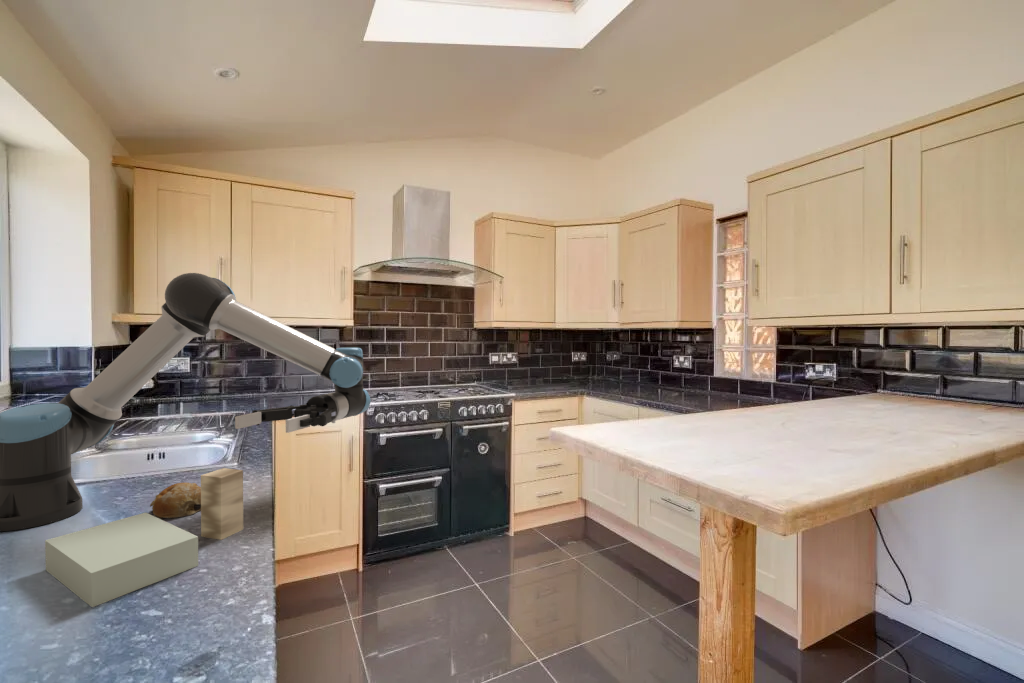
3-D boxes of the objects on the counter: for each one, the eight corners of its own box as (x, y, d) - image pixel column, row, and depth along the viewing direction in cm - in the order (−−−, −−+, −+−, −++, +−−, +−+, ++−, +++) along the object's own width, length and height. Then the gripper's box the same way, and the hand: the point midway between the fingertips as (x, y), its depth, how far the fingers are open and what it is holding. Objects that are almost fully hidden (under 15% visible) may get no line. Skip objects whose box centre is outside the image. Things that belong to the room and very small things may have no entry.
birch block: (201, 536, 90) (200, 475, 90) (223, 526, 95) (223, 468, 94) (221, 539, 89) (221, 477, 88) (243, 529, 93) (242, 470, 93)
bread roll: (170, 538, 97) (184, 505, 97) (134, 513, 99) (147, 481, 98) (210, 519, 107) (222, 489, 106) (176, 497, 109) (188, 468, 108)
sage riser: (45, 570, 77) (45, 540, 77) (145, 538, 89) (145, 512, 89) (91, 607, 67) (91, 573, 67) (198, 565, 79) (198, 536, 79)
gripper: (368, 425, 117) (309, 445, 97) (287, 420, 124) (216, 437, 104) (367, 396, 117) (309, 410, 97) (286, 392, 124) (216, 404, 104)
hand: (261, 424), depth 100 cm, fingers open, 13 cm apart
